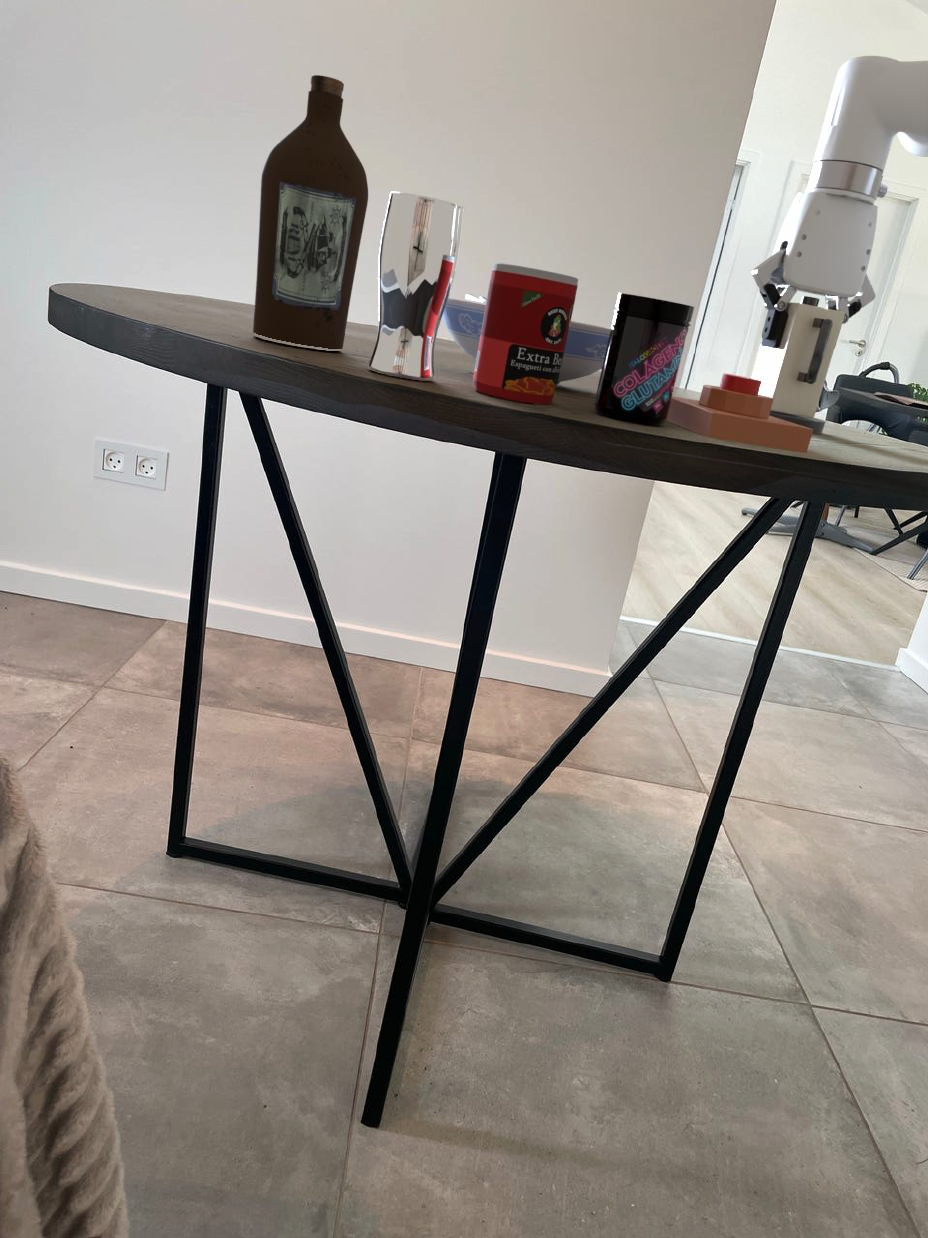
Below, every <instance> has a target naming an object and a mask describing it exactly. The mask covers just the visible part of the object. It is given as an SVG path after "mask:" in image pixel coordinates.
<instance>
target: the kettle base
mask: <svg viewBox="0 0 928 1238" xmlns="http://www.w3.org/2000/svg"><path fill="white" fill-rule="evenodd" d="M769 416H772V417H775V418H779V419H782V420H785V421H788V422H792V423H795V424H798V425H801V426H804V427H808V428H811V429H813V433H812V435H817V436H821V435H822V434H823V432H824V428H825V425H826V421H825V420H822V419H819V418H815V417H814V418H810V417H805V416H799V415H793V414H787V413H781V412H775V411H770V414H769Z"/></svg>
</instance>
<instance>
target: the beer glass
mask: <svg viewBox="0 0 928 1238" xmlns="http://www.w3.org/2000/svg"><path fill="white" fill-rule="evenodd" d="M464 211H465V207H464V206H463V205H461V204H458V203H455V202H452V201H449V200H444V199H440V198H436V197H431V196H426V195H420V194H414V193H409V192H408V193H407V192H400V191H399V192H398V191H391V192H390V194H389V199H388V204H387V209H386V214H385V219H384V221H383V227H382V234H381V239H380V247H379V253H378V305H379V306H378V314H379V315H378V329H377V335H376V340H375V344H374V347H373V350H372V354H371V357H370V359H369V363H368V368H369V369H371V370H374V371H376V372H380V373H383V374H386V375H391V376H396V377H401V378H407V379H413V380H412V381H414V380H419V381H418V382H423V381H429V382H430V381H432V382H434V380H435V347H436V340H437V336H438V332H439V327H440V326H441V325H440V324H441V322H442V319H443V317H442V315H443V312H444V310H445V307H446V304H447V301H448V298H450V294H451V291H452V288H453V284H454V281H455V277H456V273H457V269H458V264H459V259H460V252H461V245H462V234H463V222H464ZM369 369H368V370H369ZM386 375H385V376H386ZM391 376H390V377H391ZM396 377H395V378H396ZM401 378H400V379H401ZM407 379H406V380H407ZM429 382H428V383H429Z"/></svg>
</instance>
